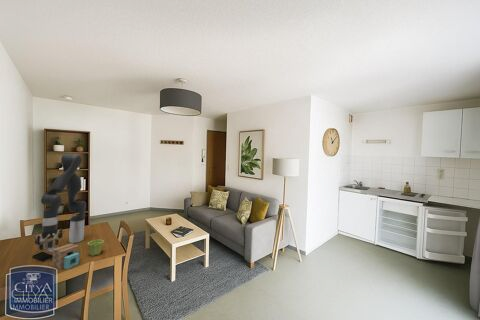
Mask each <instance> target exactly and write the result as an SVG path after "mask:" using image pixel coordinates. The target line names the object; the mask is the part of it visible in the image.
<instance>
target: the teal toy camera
mask: <svg viewBox="0 0 480 320" xmlns="http://www.w3.org/2000/svg"><path fill="white" fill-rule="evenodd" d="M71 259H73V262H71V263H70V260H71ZM79 264H80V253H79V252H78V253H74V254H71V255H69V256H66V257H64V268H63V270H69V269H71V268H73V267H75V266H78V265H79Z"/></svg>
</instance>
